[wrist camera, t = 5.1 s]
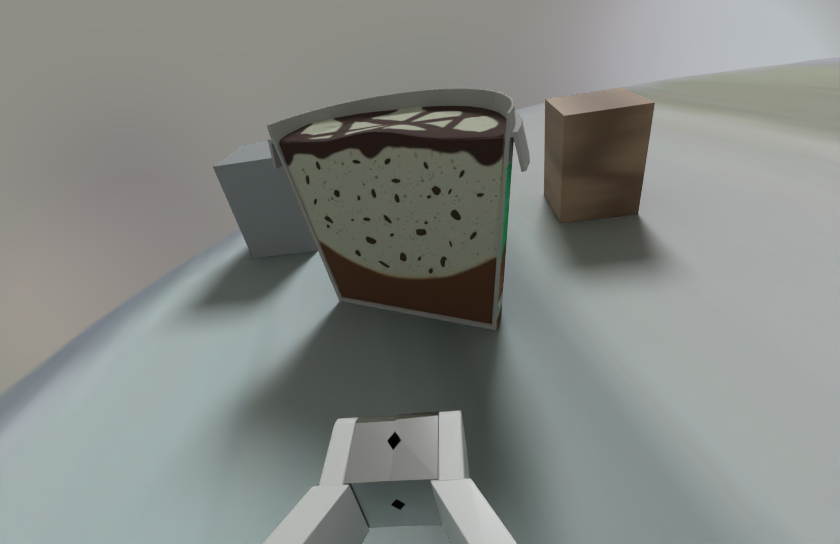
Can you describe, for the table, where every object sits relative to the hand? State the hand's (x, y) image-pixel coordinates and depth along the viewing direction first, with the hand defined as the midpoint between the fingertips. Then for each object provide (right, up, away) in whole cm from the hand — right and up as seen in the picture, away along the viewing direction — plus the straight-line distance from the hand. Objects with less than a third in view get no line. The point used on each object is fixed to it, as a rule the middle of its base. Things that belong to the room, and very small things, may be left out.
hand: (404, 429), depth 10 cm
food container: (+1, +3, +14) cm, 14 cm away
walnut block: (+12, +9, +19) cm, 25 cm away
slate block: (-9, +6, +22) cm, 25 cm away
